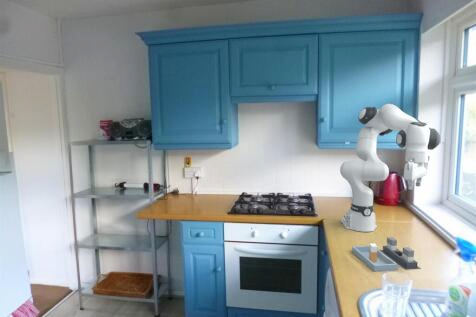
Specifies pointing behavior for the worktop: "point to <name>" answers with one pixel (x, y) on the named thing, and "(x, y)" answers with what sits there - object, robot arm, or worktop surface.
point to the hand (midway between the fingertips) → (414, 187)
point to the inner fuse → (391, 243)
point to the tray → (382, 260)
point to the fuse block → (399, 258)
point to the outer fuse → (408, 254)
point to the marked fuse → (373, 252)
